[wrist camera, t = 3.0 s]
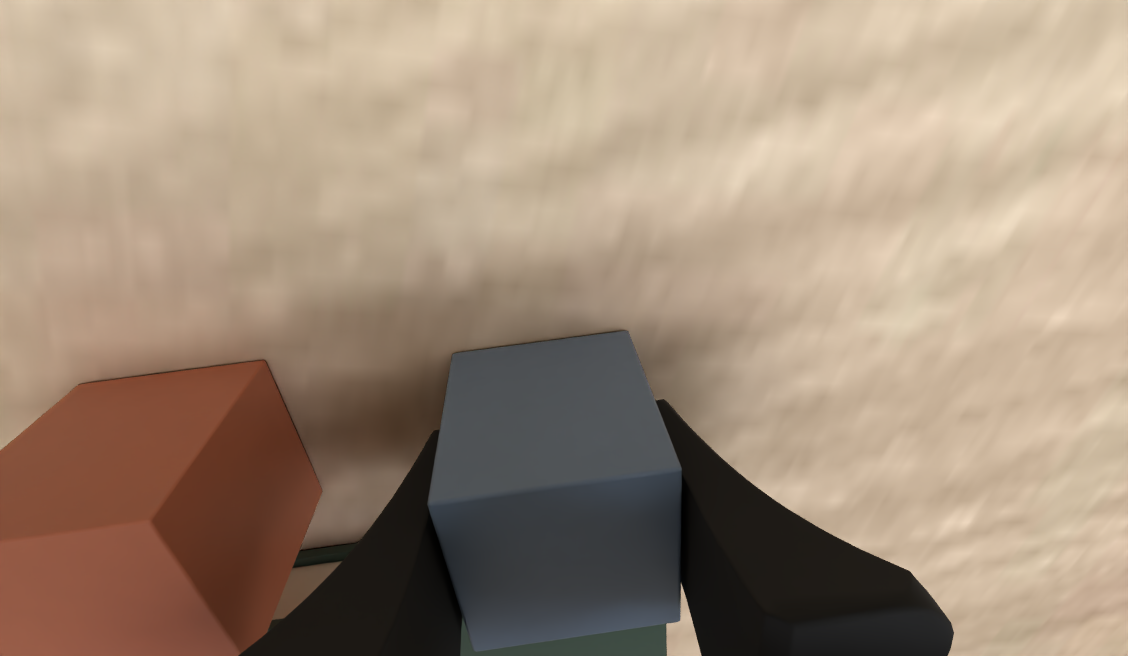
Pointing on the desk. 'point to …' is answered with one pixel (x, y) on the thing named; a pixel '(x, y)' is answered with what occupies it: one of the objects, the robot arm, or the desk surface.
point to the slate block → (556, 492)
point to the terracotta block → (152, 516)
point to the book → (612, 652)
